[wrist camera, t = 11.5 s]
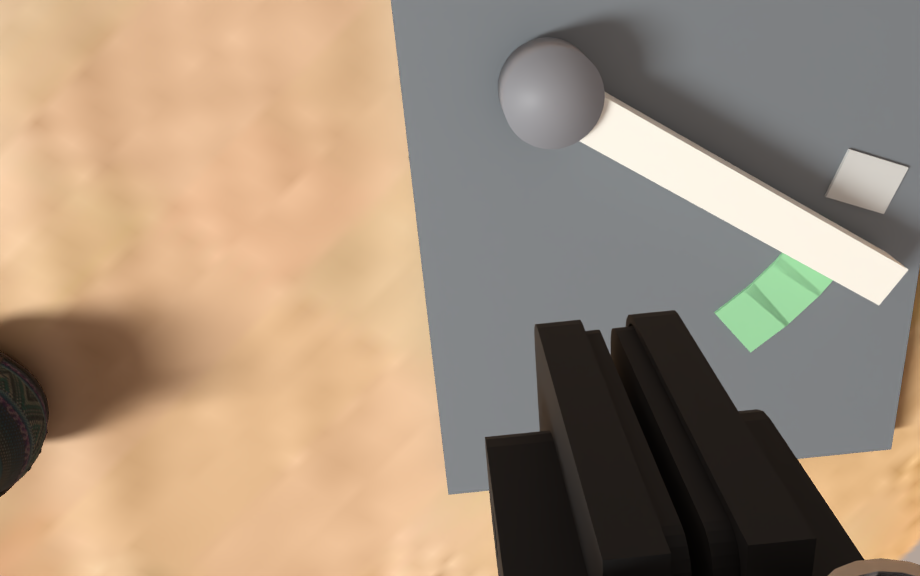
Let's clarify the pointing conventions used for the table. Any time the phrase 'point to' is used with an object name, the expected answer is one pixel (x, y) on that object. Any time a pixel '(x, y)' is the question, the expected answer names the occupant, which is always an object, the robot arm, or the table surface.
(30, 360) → the table surface
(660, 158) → the pointer
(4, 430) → the mate gourd
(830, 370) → the dial board
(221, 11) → the table surface
